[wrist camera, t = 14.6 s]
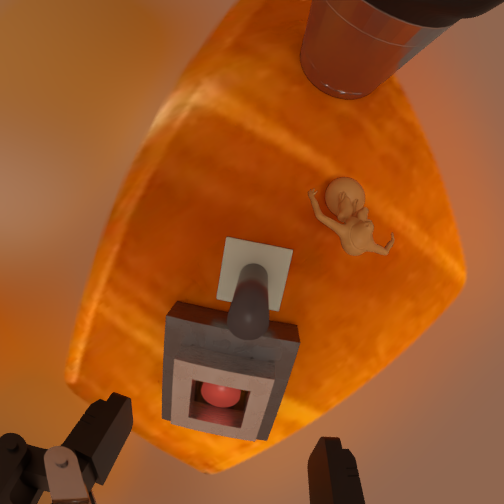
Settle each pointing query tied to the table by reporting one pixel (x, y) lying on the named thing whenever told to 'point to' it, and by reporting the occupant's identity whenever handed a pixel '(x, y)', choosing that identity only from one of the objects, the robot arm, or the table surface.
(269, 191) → the table surface
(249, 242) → the pad
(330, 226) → the figurine
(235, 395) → the button
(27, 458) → the robot arm
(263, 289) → the dark grey cylinder
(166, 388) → the box
